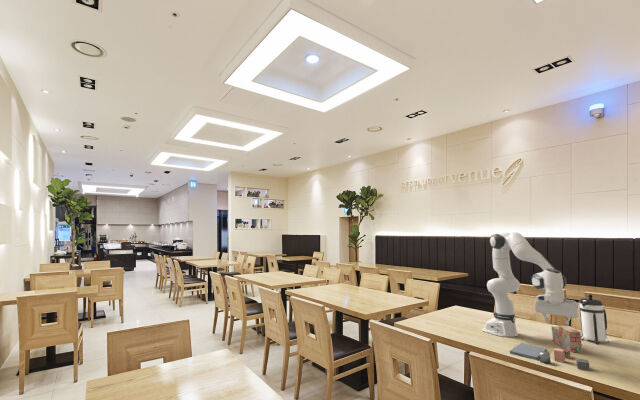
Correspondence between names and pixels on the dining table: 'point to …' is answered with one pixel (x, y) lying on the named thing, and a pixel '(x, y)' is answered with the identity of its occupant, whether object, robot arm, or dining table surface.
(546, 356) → the dark metal cylinder
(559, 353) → the terracotta block
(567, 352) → the walnut block
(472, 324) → the dining table surface
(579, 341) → the stack of blocks
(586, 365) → the charcoal rubber cube
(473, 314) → the dining table surface
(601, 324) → the coffee press
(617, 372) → the dining table surface
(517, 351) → the slate board
